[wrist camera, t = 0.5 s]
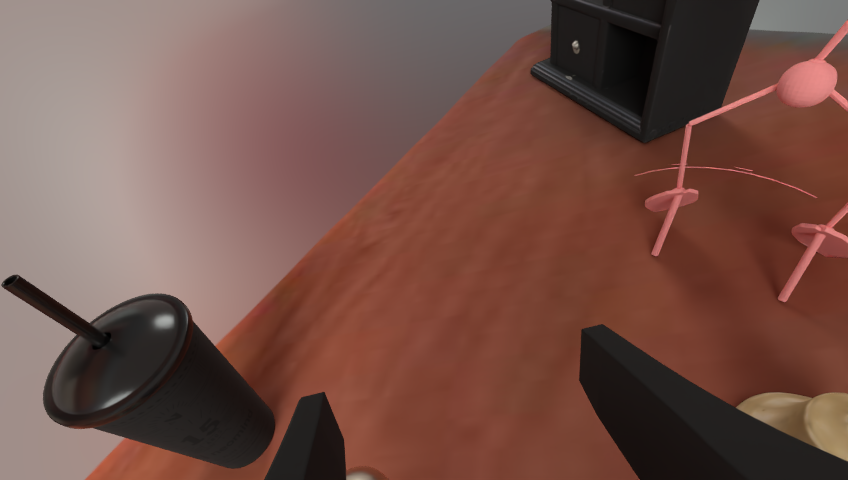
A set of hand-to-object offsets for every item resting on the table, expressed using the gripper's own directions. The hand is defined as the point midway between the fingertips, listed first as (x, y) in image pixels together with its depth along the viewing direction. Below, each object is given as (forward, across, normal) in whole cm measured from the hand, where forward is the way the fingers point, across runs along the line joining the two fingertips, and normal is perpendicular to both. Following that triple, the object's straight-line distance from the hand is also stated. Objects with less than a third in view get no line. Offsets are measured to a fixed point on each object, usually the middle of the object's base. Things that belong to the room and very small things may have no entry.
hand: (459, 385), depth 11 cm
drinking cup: (+15, +16, +17) cm, 28 cm away
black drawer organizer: (+45, -32, +5) cm, 55 cm away
